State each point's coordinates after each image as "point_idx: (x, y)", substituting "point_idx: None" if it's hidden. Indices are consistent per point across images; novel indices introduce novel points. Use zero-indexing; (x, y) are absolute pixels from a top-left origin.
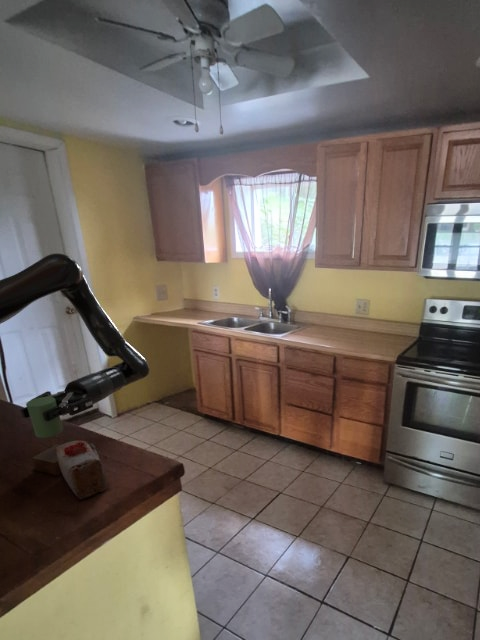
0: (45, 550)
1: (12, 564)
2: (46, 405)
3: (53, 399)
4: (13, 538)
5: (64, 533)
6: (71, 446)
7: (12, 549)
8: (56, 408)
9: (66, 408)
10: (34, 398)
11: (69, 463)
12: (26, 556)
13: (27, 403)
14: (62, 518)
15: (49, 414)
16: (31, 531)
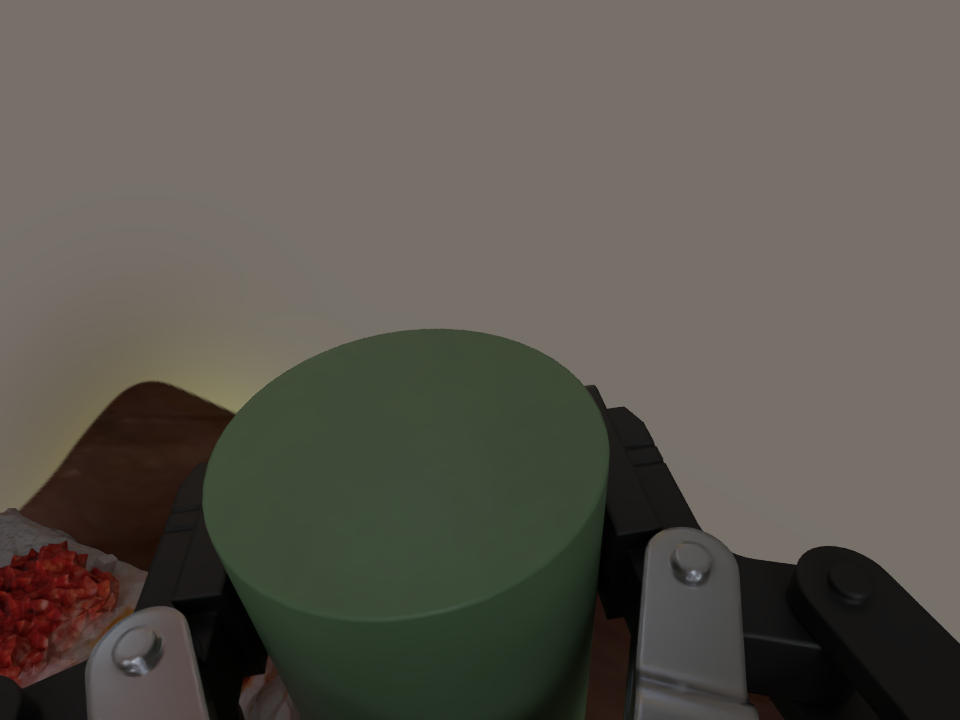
0: (85, 435)
1: (154, 388)
2: (236, 424)
3: (264, 559)
4: (226, 425)
5: (57, 490)
6: (36, 598)
7: (194, 407)
8: (187, 568)
9: (50, 677)
10: (920, 628)
11: (21, 532)
12: (132, 409)
13: (513, 349)
14: (108, 528)
15: (198, 467)
16: (188, 456)
